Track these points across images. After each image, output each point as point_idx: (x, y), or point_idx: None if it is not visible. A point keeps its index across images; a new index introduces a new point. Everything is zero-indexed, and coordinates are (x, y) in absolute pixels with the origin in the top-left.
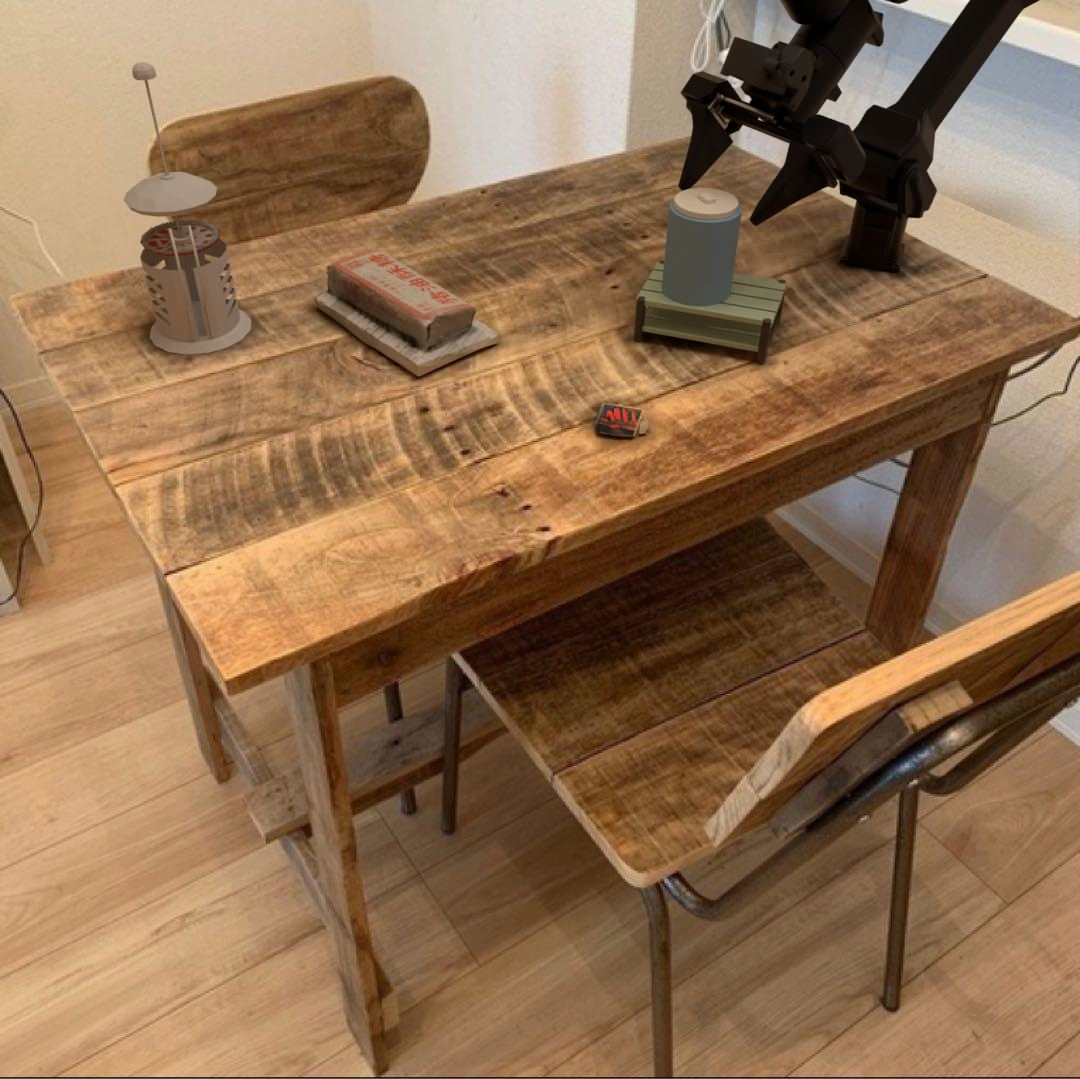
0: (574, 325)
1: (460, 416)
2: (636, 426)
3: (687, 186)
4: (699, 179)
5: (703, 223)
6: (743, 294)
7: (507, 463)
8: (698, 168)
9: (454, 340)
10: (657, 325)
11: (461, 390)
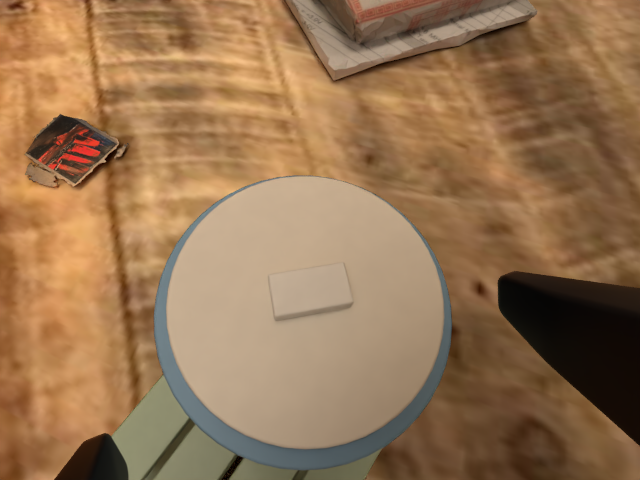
0: (362, 186)
1: (185, 10)
2: (43, 164)
3: (514, 312)
4: (563, 377)
5: (181, 240)
6: (238, 467)
7: (67, 23)
8: (595, 359)
9: (330, 23)
10: None
11: (239, 23)
